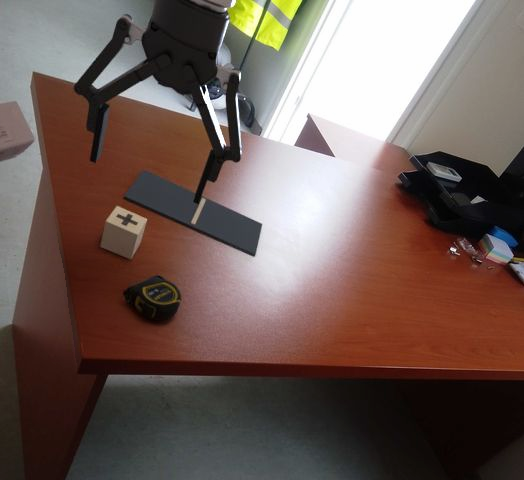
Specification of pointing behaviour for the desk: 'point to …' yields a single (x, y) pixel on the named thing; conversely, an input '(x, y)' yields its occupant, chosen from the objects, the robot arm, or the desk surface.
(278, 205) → the desk surface
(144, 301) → the tape measure
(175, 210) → the mat
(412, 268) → the desk surface
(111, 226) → the plus sign block
